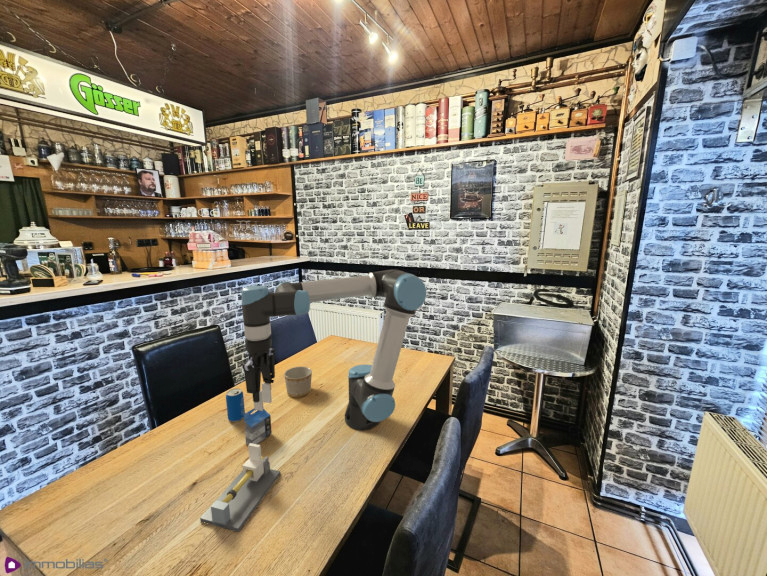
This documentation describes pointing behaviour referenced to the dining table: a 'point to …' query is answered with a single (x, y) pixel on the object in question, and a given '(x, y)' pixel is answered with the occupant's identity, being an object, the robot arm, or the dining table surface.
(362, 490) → the dining table surface
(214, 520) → the linear slide rail
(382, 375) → the robot arm
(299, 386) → the planter
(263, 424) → the label tape cartridge
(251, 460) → the white slider carriage
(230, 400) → the beverage can
